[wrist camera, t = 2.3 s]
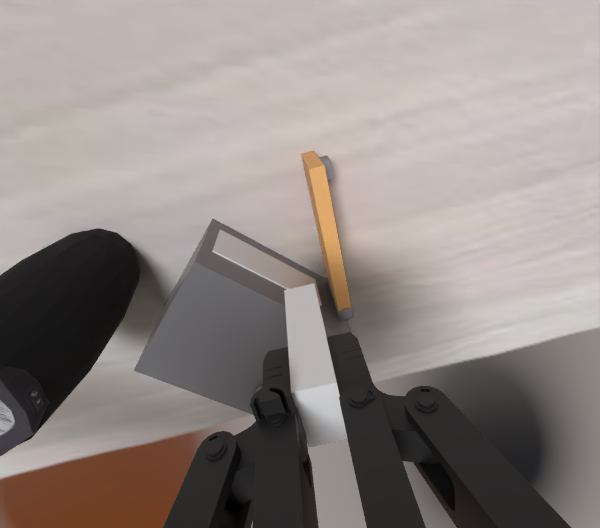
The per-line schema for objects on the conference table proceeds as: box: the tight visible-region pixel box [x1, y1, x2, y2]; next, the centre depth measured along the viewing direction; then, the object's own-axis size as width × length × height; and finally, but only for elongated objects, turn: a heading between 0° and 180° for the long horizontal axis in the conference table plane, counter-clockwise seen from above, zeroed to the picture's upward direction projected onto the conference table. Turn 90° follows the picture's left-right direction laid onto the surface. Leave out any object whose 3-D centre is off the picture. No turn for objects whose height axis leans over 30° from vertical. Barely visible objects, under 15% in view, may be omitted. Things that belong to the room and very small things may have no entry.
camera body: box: [134, 219, 351, 415], centre depth 36 cm, size 18×12×11 cm
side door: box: [301, 151, 354, 321], centre depth 33 cm, size 14×2×7 cm, turn 13°
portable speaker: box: [0, 229, 140, 456], centre depth 28 cm, size 9×9×20 cm
